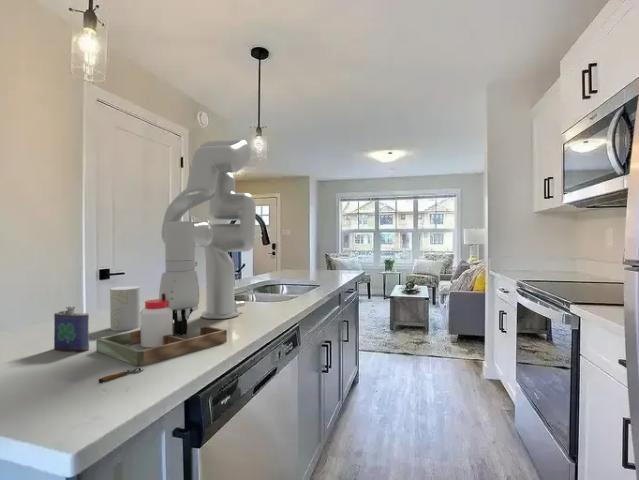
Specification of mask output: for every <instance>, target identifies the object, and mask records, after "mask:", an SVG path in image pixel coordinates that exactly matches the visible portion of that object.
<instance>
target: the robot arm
mask: <svg viewBox="0 0 639 480" xmlns="http://www.w3.org/2000/svg"><path fill="white" fill-rule="evenodd" d="M251 154H252V153H251V147H250V146H249V143H248V142H247V141H246V140H244V139H224V140H223V139H221V140H220V139H219V140H216V139H215V140H210V141H204V142H202V144H201V145H200V147H198V148H196V150H194V153H193V154H192V160H191V164H190V169H189V175H188V178H187V184H186V187H185V189H183V190H182V192H180V193H179V194H178V195H177V196H176V197H175V198H174V199H173V200H172V202H171V203H170V204H169V205H168V206H167V208H166V211H165V213H164V215H163V216H164V217H163V222H162V225H161V239H162V243H163V244H165V245H164V249H165V251H164V252H165V253H164V255H165V256H164V257H165V259H164V260H165V262H164V265H165V266H164V267H165V268H164V269H165V270H164V271H165V272H162V274H161V278H160V283H159V293H158V299H161V300H163V299H165V300H168V307H169V308H171V309H172V310H173V323H174V331H175V334H174V335H177V336H180V337H181V336H184V335H187V334H188V320H189V319H190V316H191V315H192V313H193V312H195V311H197V310H198V309H199V303H200V285H199V279H198V278H199V277H198V273H197V270H195V269H196V268H195V267H198V262H197V261H195V260H196V259H195V253H196V252H195V251H196V250H195V248H203V249H204V256H205V310H204V311H202V312H201V314H200V316H201V317H202V318H204V319H207V320H209V319H210V320H221V319H222V320H223V319H231V318H235V317H238V316H239V315H240V311H239V310H238V308H242V307H245V305H246V304H245V301H243V300H240V301H237V300H235V264H234V260H233V258H232V257H231V256H230V255H229V252H230V253H231V252H234V253H235V252H249V251H251V250H252V249H253V248H254V245H255V239H256V214H257V213H256V211H257V210H256V209H257V208H256V207H257V206H256V201H255V198H254V197H253V195H252V194H250V193H247V192H236V178H235V177H234V175H233V173H237V172H239V171H241V170H242V169H243V168H245V166H247V165H248V163H249V162H250V159H251ZM208 201H209V205H208V206H209V207H208V208H209V209H208V211H209V216H210V218H211V219H212V220H214V221H215V220H216V221H224V222H225V221H226V222H227V221H238V222H240V223H213V224H210V223H208V222H206V221H189V220H188V221H181V220H182V218H183V216H184V215H185V214H186V213H187V212H188V211H190V210H191V209H194V208H195V207H197V206H199V205H202V204H204V203H206V202H208Z"/></svg>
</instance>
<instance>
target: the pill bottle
mask: <svg viewBox="0 0 639 480" xmlns="http://www.w3.org/2000/svg"><path fill="white" fill-rule="evenodd" d="M173 323H174V320H173V310H172V309H171V308H169V307H168V300H165V299H163V300H161V299H159V298H158V299H149V300H146V301H144V307H143V309H142V310H140V327H139V330H140V341H141V342H140V346H141V347H142V348H148V349H150V348H154V347H158V346H162V345H163V336H165V335H170V334H171V335H172V336H174V334H173Z"/></svg>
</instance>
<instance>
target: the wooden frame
mask: <svg viewBox="0 0 639 480" xmlns="http://www.w3.org/2000/svg"><path fill="white" fill-rule="evenodd" d="M175 335H176V334H175V331H174V322H173V336H172V335H171V334H170V335H165V336H163V345H162V346H158V347H154V348H148V349H143V350H140V349H137V348H134V347H130V346H131V345H133V344H138V343H141V341H140V329H138V330H134V331H128V332H123V333H117V334H113V335H108V336H104V337H103V336H101V337H98V338H95V341H96V342H95V343H96V344H95V345H96V350H95V351H96V352H98V353H99V354H103V355H106V356H108V357H112V358H114V359H116V360H120V361H123V362H125V363H128V364H131V365H134V366H137V367H143V366H146V365H149V364H153V363H157V362H159V361H160V362H161V361H163V360H167V359H170V358H173V357H178V356H181V355H184V354H189V353H191V352H195V351H200V350H202V349H206V348H209V347H213V346H216V345H220V344H224V343H226V342H228V340H227V339H228V338H227V337H228V336H227V335H228V334H227V330H226V329H223V328H217V327H214V326H208V325H204V326H201V327H200V328H199V336H195V337H190V338H182V337H179V336H175Z"/></svg>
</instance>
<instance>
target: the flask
mask: <svg viewBox="0 0 639 480" xmlns="http://www.w3.org/2000/svg"><path fill="white" fill-rule="evenodd" d="M75 308H76V307H75V306H65V309H67V310H62V311H61V310H60V311H58V312H55V313H54V315H53V316H54V321H53V322H54V324H53V325H54V328H53V329H54V334H53V335H54V339H53V340H54V343H53V344H54V346H53V350H54V351H56V352H73V353H74V352H76V353H80V352H81V353H82V352H88V351H89V349H90V341H89V340H90V339H89V338H90V334H89V333H90V332H89V318H90V316H89V313H87V312H86V313H79V312H78V313H77V312H75Z"/></svg>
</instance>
